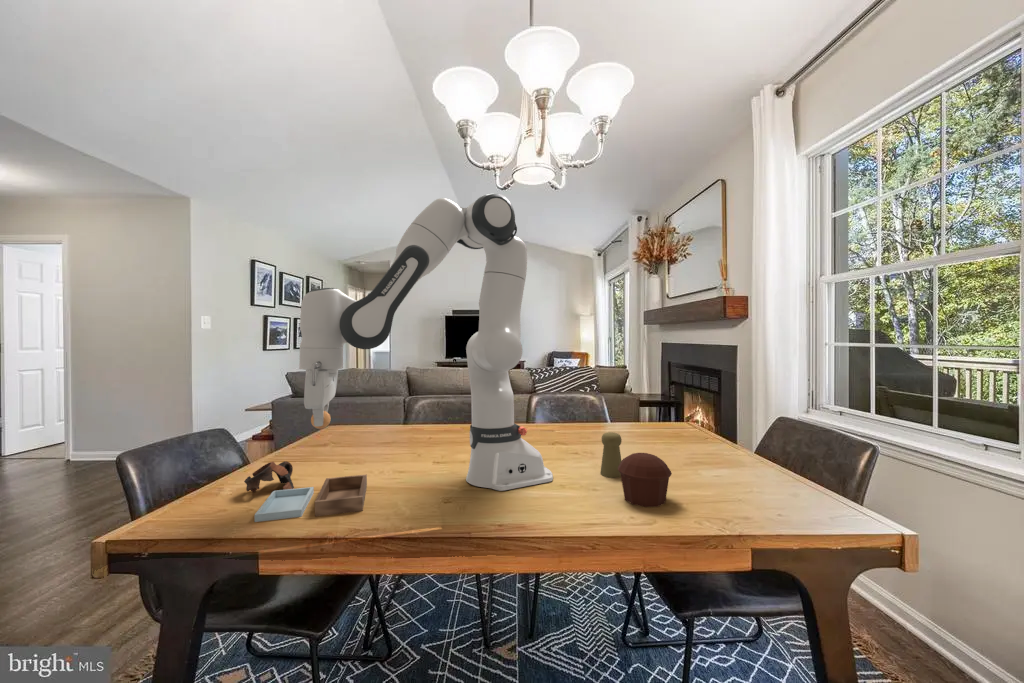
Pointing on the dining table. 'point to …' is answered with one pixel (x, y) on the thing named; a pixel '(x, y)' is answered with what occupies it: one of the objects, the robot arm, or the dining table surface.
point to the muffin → (644, 479)
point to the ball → (326, 420)
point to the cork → (611, 455)
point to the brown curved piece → (265, 474)
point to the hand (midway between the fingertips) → (320, 423)
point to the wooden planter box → (341, 495)
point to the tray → (285, 504)
